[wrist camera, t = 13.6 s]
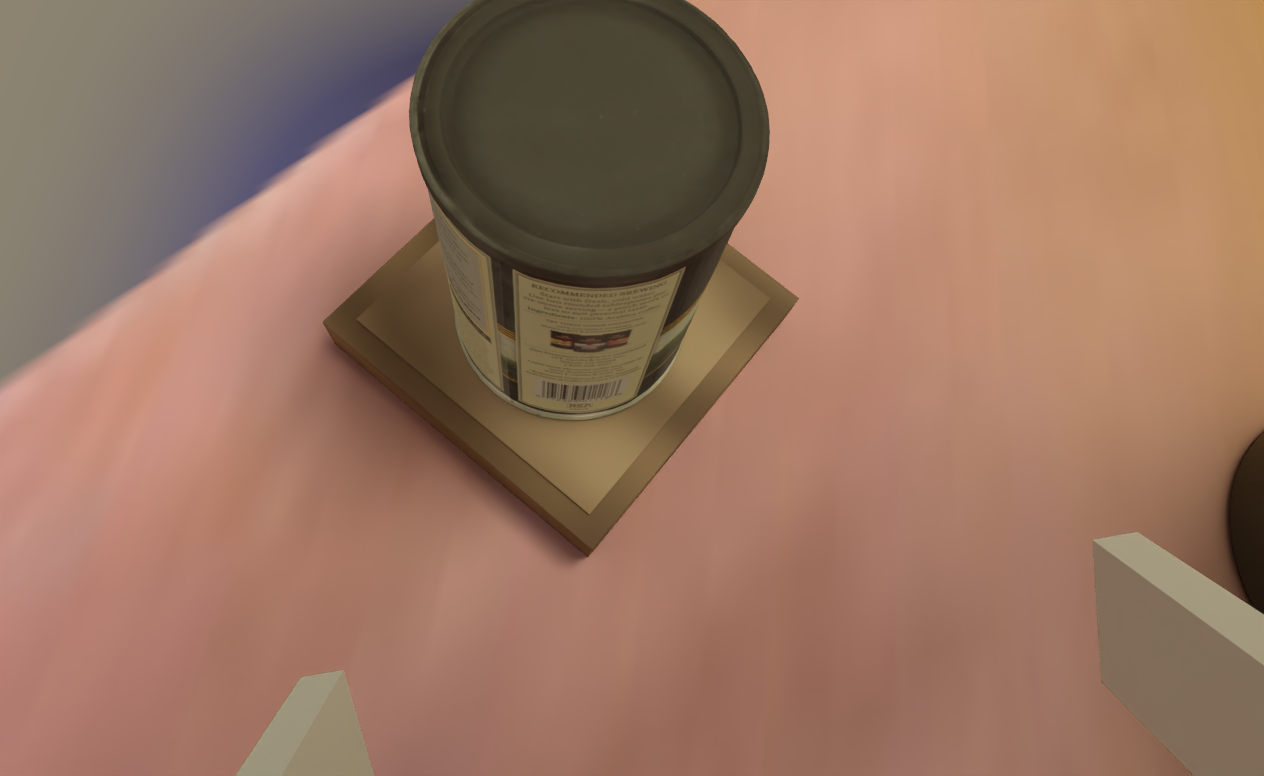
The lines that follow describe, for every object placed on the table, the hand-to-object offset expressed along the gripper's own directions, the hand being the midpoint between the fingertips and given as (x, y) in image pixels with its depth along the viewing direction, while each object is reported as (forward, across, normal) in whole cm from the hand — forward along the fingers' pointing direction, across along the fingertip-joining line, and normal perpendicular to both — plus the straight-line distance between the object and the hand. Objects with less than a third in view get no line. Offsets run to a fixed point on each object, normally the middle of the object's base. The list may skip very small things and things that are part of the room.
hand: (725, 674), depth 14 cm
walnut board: (+26, -4, +3) cm, 27 cm away
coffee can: (+24, -4, +4) cm, 25 cm away
